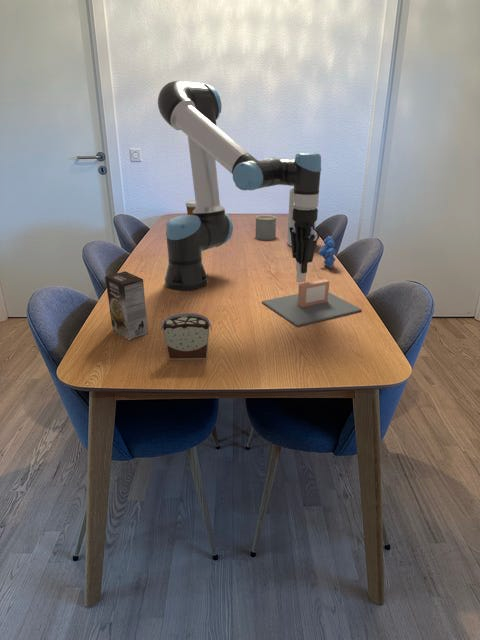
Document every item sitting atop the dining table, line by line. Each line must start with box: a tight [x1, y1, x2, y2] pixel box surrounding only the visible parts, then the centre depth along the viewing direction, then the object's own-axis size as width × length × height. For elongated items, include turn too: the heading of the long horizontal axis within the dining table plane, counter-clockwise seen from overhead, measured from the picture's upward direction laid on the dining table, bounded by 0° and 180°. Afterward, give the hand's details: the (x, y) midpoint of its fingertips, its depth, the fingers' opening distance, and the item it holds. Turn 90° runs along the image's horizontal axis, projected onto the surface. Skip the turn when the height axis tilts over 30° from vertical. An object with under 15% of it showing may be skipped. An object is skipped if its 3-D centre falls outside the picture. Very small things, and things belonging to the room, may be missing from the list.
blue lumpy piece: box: [318, 235, 337, 269], centre depth 172 cm, size 12×7×12 cm, turn 4°
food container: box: [160, 312, 213, 361], centre depth 108 cm, size 12×6×10 cm, turn 92°
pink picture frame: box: [297, 278, 330, 307], centre depth 136 cm, size 10×2×7 cm, turn 117°
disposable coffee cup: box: [185, 200, 196, 215], centre depth 242 cm, size 10×10×12 cm
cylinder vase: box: [286, 187, 318, 247], centre depth 199 cm, size 12×12×25 cm
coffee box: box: [104, 270, 149, 340], centre depth 117 cm, size 9×6×16 cm
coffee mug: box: [255, 214, 277, 241], centre depth 216 cm, size 13×10×10 cm
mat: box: [261, 291, 363, 328], centre depth 136 cm, size 24×20×1 cm
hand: (300, 281), depth 140 cm, fingers closed
